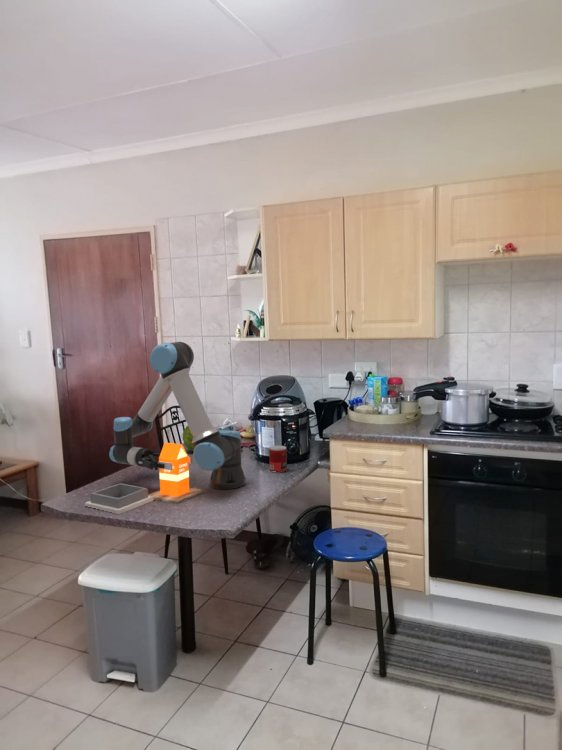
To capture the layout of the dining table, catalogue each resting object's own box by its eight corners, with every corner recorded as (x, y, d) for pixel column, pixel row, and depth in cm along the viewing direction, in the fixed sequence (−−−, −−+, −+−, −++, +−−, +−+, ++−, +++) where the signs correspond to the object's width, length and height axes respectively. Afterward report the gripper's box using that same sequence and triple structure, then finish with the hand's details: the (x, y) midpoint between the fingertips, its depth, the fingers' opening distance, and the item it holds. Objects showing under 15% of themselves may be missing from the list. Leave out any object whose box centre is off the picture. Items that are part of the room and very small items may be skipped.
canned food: (285, 473, 256) (284, 449, 255) (267, 472, 258) (267, 449, 256) (288, 469, 263) (287, 445, 262) (271, 468, 265) (271, 445, 264)
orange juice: (171, 488, 233) (170, 440, 231) (189, 491, 229) (188, 442, 227) (159, 493, 226) (158, 444, 224) (177, 496, 222) (176, 446, 220)
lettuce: (208, 457, 315) (227, 434, 315) (198, 460, 292) (219, 436, 292) (186, 437, 317) (205, 415, 317) (174, 438, 294) (195, 414, 294)
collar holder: (153, 500, 221) (153, 487, 220) (118, 514, 206) (118, 501, 205) (120, 493, 230) (120, 481, 230) (85, 506, 215) (84, 493, 214)
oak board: (203, 492, 230) (203, 490, 230) (177, 503, 216) (177, 501, 216) (173, 487, 238) (173, 484, 238) (146, 497, 224) (146, 495, 224)
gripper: (160, 459, 245) (200, 465, 234) (120, 472, 225) (161, 480, 214) (160, 442, 245) (200, 447, 233) (119, 454, 225) (160, 460, 213)
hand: (181, 463), depth 224 cm, fingers open, 11 cm apart
